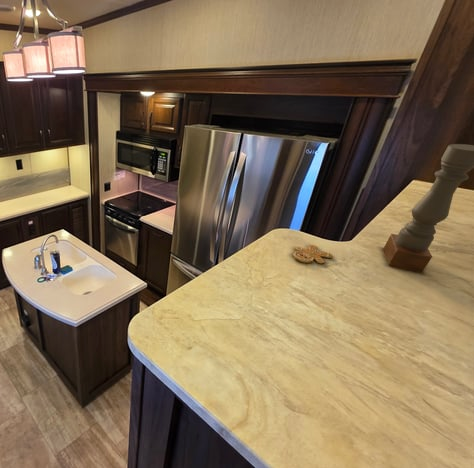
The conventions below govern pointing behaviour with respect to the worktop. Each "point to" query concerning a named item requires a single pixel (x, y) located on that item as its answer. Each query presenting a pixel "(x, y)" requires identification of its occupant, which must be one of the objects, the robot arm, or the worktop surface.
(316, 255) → the cookie
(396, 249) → the brown wooden block
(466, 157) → the candle holder
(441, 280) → the worktop surface
